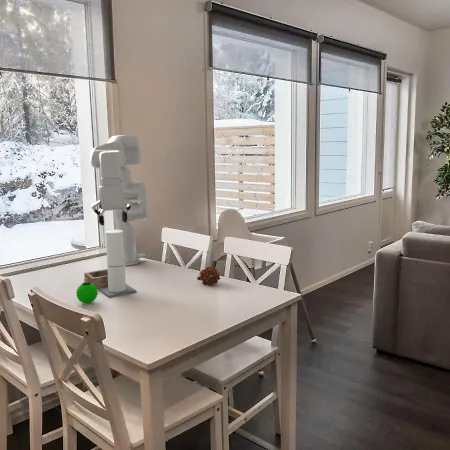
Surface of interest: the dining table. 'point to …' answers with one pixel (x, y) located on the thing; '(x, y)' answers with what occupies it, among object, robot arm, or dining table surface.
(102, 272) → the box
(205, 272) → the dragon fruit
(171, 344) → the dining table surface
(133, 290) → the mat
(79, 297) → the ornament
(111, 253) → the cylindrical container
